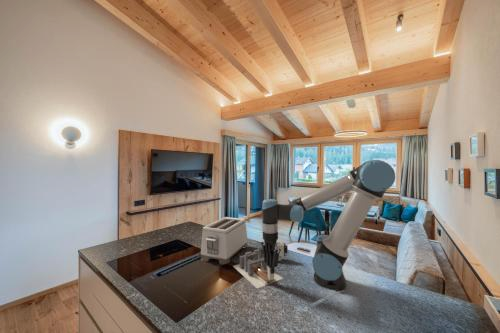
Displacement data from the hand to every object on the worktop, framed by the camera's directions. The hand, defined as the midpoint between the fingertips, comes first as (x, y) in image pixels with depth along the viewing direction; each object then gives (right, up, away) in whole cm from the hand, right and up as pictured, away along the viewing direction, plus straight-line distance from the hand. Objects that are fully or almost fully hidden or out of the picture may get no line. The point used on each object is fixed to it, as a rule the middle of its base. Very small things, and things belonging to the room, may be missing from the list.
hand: (271, 279), depth 102 cm
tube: (-5, -2, +8) cm, 10 cm away
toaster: (-27, -4, +38) cm, 47 cm away
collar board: (-7, -3, +12) cm, 14 cm away
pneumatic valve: (+7, -3, +26) cm, 27 cm away
